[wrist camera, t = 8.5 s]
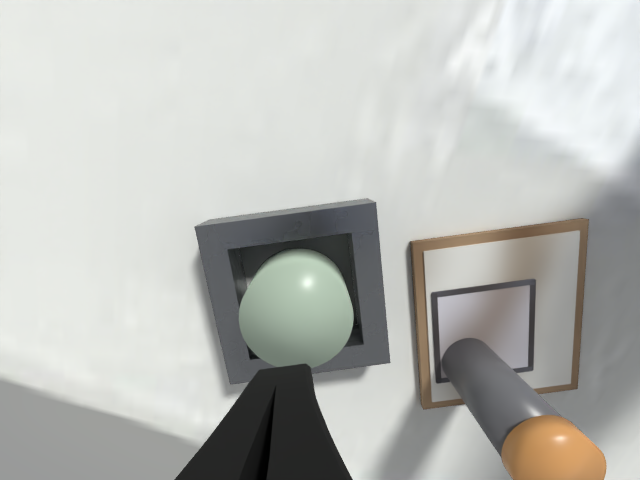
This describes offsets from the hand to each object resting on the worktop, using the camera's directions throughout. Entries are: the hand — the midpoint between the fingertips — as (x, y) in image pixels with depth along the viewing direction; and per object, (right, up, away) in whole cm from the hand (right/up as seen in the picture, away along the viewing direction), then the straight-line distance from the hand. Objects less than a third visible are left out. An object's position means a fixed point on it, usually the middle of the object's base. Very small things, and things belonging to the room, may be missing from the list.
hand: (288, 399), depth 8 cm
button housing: (0, +2, +8) cm, 8 cm away
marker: (+9, -3, +9) cm, 13 cm away
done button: (0, +2, +7) cm, 7 cm away
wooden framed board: (+11, 0, +9) cm, 14 cm away
